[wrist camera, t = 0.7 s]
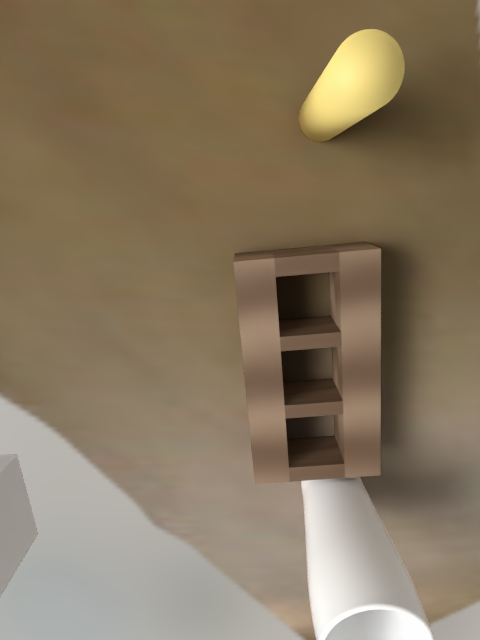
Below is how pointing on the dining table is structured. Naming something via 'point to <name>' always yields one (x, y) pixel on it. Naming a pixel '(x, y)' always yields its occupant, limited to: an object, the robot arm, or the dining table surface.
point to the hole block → (310, 333)
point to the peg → (353, 84)
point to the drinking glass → (356, 568)
